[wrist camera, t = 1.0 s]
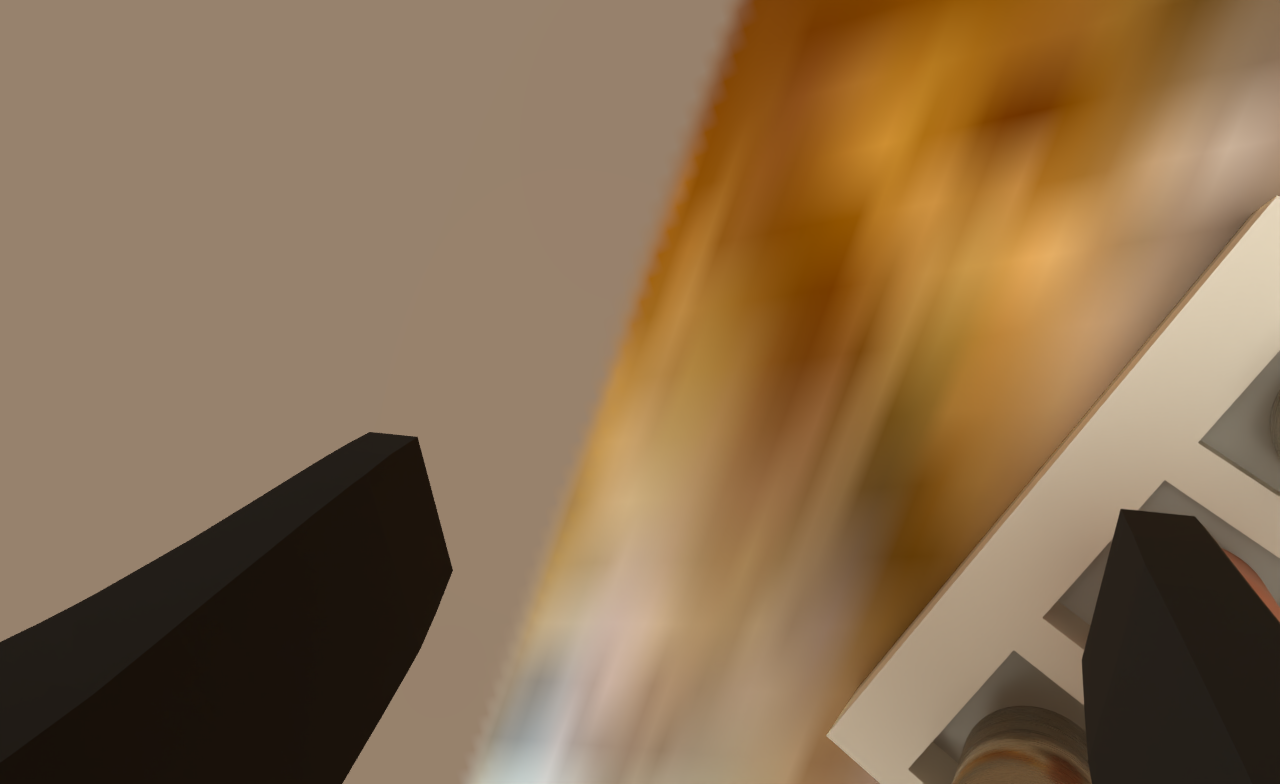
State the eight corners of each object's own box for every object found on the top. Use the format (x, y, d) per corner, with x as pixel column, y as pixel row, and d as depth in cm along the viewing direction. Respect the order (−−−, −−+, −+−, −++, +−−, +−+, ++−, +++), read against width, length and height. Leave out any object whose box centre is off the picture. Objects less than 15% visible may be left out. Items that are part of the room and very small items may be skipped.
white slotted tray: (1612, 417, 17) (1708, 434, 15) (1104, 901, 22) (1105, 984, 19) (1252, 213, 19) (1277, 195, 17) (856, 689, 24) (825, 735, 21)
